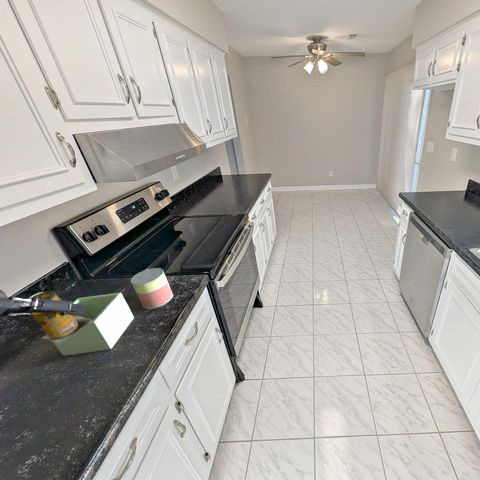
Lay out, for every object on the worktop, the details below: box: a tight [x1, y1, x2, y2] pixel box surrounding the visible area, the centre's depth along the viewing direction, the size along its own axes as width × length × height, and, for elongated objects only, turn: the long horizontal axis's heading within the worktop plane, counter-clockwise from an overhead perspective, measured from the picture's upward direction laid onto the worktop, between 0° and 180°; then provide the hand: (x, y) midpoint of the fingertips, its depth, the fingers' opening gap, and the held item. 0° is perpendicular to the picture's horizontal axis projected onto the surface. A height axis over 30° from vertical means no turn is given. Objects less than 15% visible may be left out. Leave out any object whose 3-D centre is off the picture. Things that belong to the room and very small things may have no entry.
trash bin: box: [52, 292, 135, 357], centre depth 87 cm, size 15×15×12 cm
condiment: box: [29, 290, 92, 343], centre depth 67 cm, size 7×8×12 cm
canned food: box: [130, 267, 174, 310], centre depth 103 cm, size 11×11×12 cm
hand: (70, 311), depth 71 cm, fingers closed on condiment, 6 cm apart
